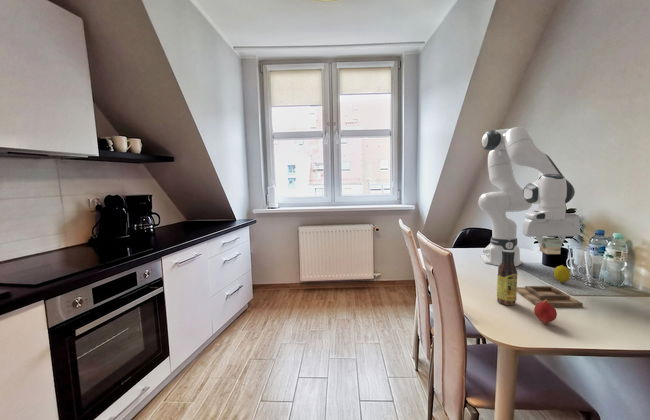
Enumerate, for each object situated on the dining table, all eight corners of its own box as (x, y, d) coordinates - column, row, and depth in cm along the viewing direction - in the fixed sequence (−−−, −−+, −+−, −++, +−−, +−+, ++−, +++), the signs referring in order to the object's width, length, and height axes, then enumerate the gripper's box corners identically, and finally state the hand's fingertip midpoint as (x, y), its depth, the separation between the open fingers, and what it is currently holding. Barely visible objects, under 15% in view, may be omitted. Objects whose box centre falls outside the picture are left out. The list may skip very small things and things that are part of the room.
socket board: (514, 290, 119) (515, 283, 119) (554, 291, 117) (554, 284, 117) (536, 306, 104) (536, 298, 104) (582, 307, 102) (582, 299, 102)
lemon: (572, 285, 122) (573, 267, 121) (558, 285, 123) (558, 266, 122) (564, 281, 127) (565, 263, 127) (550, 280, 129) (551, 263, 128)
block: (539, 250, 123) (540, 237, 122) (552, 250, 122) (553, 237, 122) (546, 254, 118) (547, 239, 117) (560, 254, 117) (561, 239, 117)
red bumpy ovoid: (529, 319, 95) (529, 296, 94) (545, 318, 96) (546, 295, 95) (543, 328, 89) (544, 303, 89) (561, 327, 90) (562, 302, 89)
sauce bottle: (509, 307, 104) (511, 254, 102) (493, 301, 110) (493, 250, 108) (520, 303, 107) (521, 251, 105) (503, 297, 113) (504, 248, 111)
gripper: (573, 212, 120) (571, 244, 122) (521, 213, 123) (519, 245, 124) (585, 214, 114) (583, 248, 115) (529, 215, 117) (528, 248, 118)
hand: (549, 246), depth 120 cm, fingers closed on block, 5 cm apart
